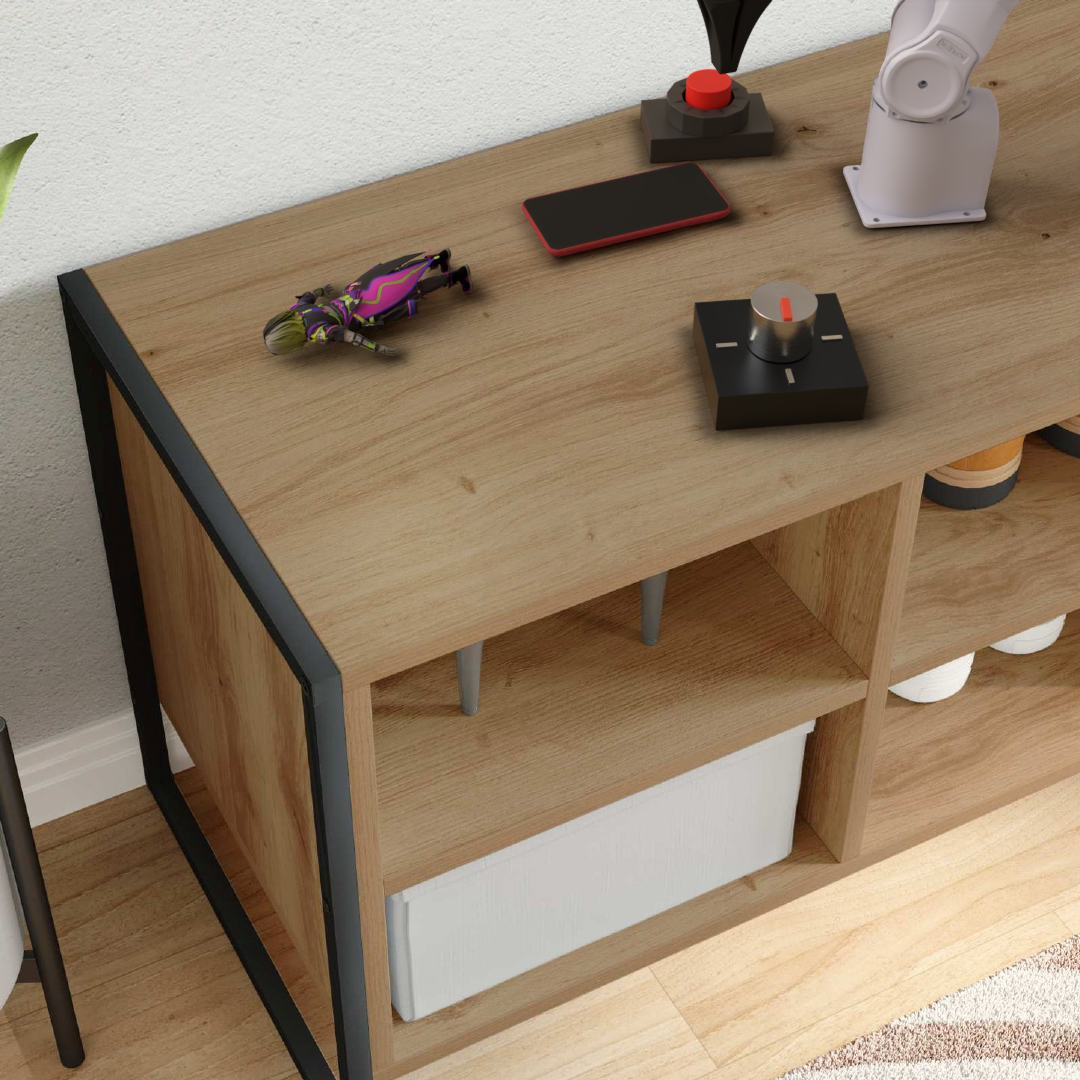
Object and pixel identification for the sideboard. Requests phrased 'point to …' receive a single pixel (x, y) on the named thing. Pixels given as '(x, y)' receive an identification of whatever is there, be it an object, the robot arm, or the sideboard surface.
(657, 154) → the light switch
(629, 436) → the sideboard surface
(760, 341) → the dimmer knob
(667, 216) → the smartphone
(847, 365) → the dimmer panel
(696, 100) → the light button
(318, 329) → the character figure
